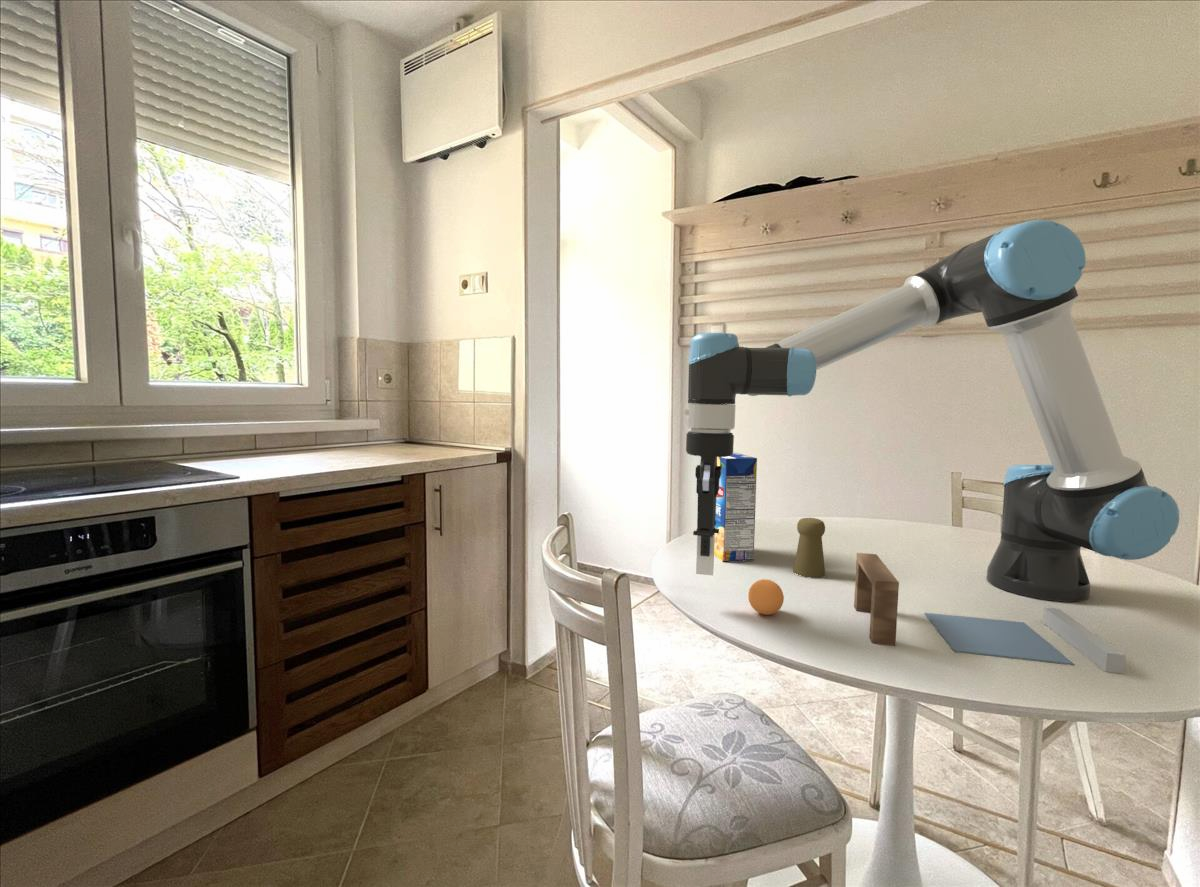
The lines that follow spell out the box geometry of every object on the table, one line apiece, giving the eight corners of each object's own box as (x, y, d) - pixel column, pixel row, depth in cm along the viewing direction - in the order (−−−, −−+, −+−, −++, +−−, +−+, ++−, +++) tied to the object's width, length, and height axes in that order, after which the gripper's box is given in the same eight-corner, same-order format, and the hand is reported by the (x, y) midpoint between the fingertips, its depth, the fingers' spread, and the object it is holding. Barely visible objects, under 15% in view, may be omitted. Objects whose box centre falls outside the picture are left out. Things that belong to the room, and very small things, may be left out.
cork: (828, 579, 108) (830, 523, 107) (795, 576, 110) (797, 521, 109) (822, 569, 114) (824, 516, 113) (791, 567, 115) (793, 514, 114)
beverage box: (723, 562, 119) (726, 458, 117) (704, 548, 129) (707, 453, 127) (753, 560, 120) (757, 458, 118) (732, 547, 131) (735, 452, 129)
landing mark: (1023, 623, 88) (1024, 622, 88) (1073, 665, 74) (1073, 663, 74) (924, 613, 91) (924, 612, 91) (954, 651, 78) (954, 650, 78)
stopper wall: (1058, 624, 88) (1059, 609, 87) (1123, 673, 72) (1125, 655, 72) (1043, 623, 88) (1044, 607, 88) (1105, 671, 73) (1107, 652, 72)
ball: (782, 608, 93) (783, 576, 93) (784, 621, 88) (785, 587, 87) (747, 605, 94) (748, 573, 94) (747, 618, 89) (748, 584, 89)
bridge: (873, 608, 94) (876, 554, 93) (895, 645, 80) (898, 582, 79) (854, 606, 94) (856, 552, 94) (872, 643, 80) (875, 580, 80)
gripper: (690, 427, 98) (686, 560, 100) (682, 432, 86) (677, 583, 88) (735, 429, 96) (729, 564, 98) (732, 434, 84) (726, 588, 86)
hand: (704, 573), depth 93 cm, fingers closed
